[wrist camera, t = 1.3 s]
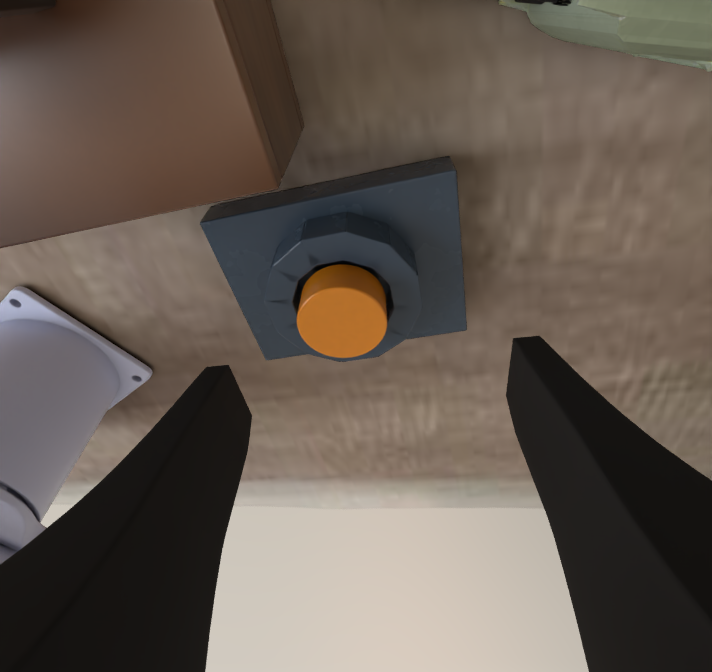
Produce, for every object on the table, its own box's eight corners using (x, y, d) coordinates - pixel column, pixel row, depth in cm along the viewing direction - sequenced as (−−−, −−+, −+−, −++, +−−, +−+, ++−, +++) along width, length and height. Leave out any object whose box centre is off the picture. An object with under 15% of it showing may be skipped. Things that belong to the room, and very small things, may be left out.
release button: (314, 337, 20) (310, 364, 18) (290, 271, 17) (284, 296, 16) (392, 325, 19) (394, 352, 18) (377, 255, 17) (378, 280, 16)
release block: (271, 340, 24) (259, 386, 21) (210, 205, 19) (184, 243, 16) (461, 310, 22) (474, 355, 20) (450, 154, 17) (465, 187, 15)
